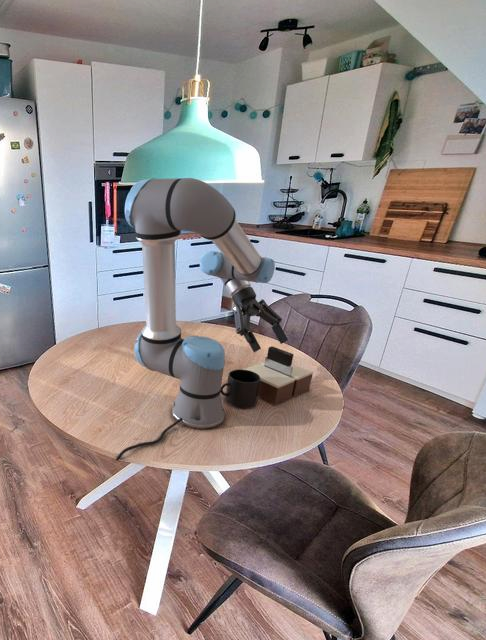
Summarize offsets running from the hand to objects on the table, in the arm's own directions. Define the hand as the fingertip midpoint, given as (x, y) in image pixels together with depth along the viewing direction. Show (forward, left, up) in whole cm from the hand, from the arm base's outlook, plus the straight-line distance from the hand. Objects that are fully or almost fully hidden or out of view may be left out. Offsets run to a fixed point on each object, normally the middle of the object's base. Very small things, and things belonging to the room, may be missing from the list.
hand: (271, 346), depth 127 cm
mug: (-17, -3, -14) cm, 22 cm away
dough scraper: (0, -4, -12) cm, 13 cm away
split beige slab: (0, -4, -14) cm, 15 cm away
